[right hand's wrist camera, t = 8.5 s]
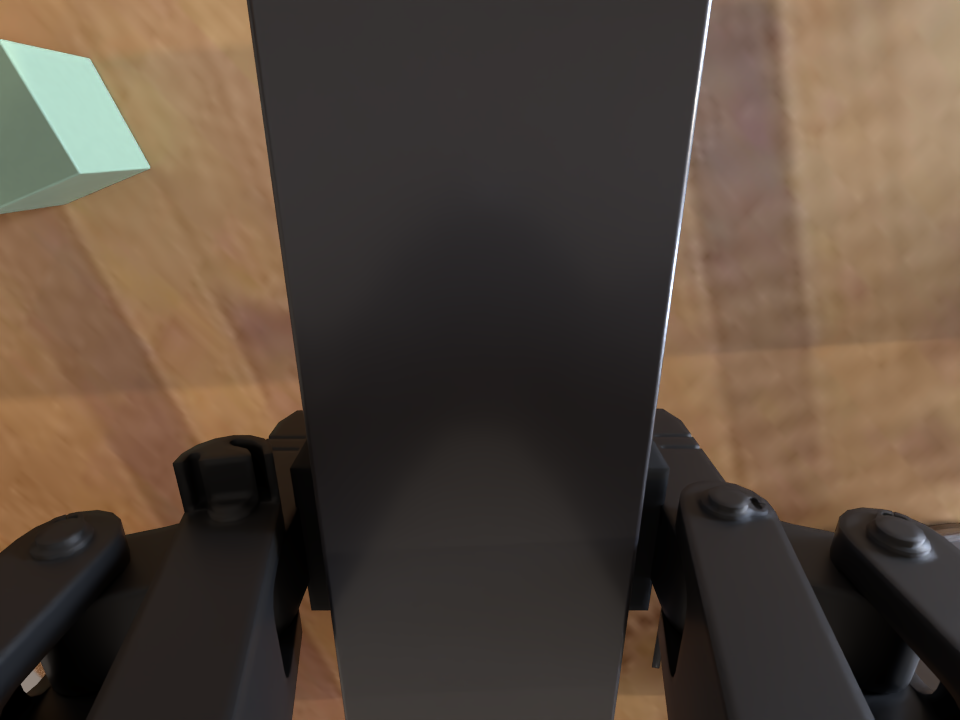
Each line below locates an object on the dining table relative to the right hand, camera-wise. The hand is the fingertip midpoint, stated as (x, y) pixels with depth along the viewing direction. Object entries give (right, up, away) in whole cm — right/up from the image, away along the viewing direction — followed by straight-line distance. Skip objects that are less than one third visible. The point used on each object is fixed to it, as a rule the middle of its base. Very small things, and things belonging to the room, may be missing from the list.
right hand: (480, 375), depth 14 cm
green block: (-19, +11, +11) cm, 25 cm away
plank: (0, +9, -3) cm, 9 cm away
